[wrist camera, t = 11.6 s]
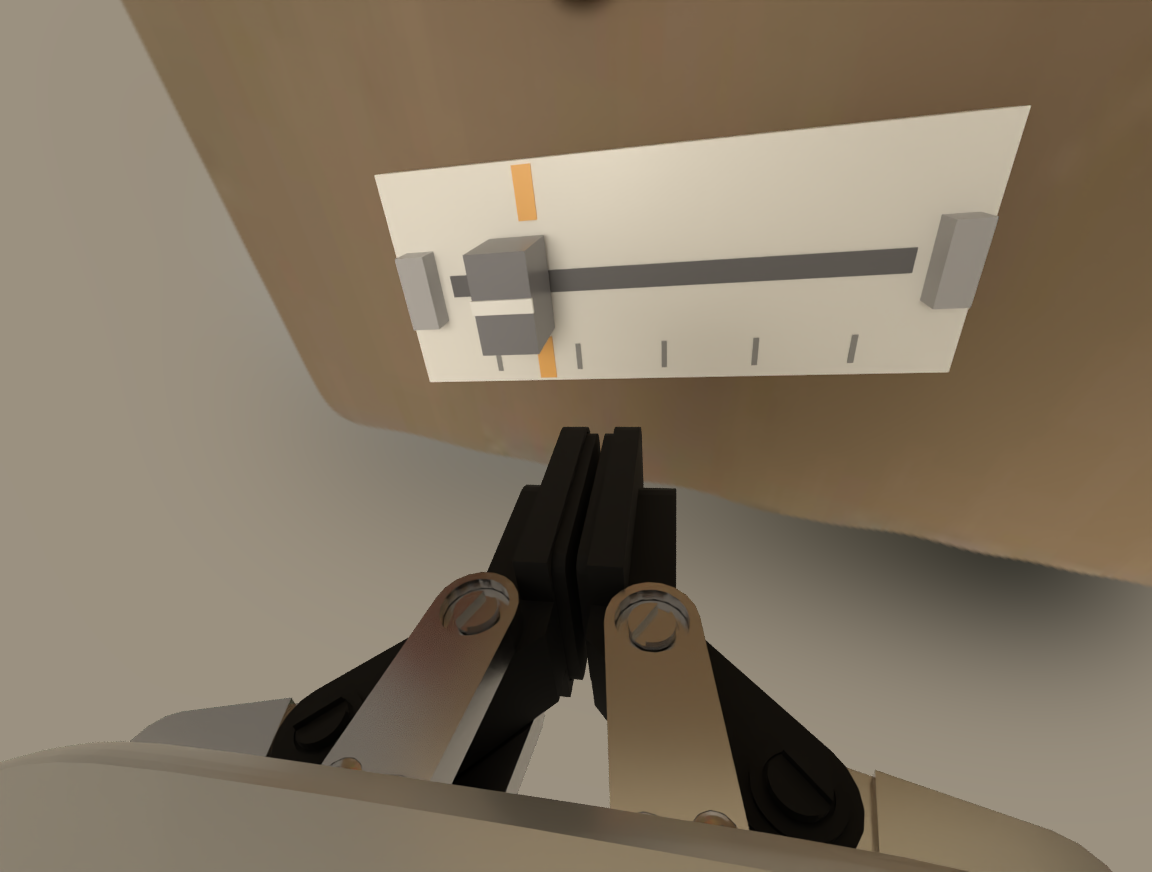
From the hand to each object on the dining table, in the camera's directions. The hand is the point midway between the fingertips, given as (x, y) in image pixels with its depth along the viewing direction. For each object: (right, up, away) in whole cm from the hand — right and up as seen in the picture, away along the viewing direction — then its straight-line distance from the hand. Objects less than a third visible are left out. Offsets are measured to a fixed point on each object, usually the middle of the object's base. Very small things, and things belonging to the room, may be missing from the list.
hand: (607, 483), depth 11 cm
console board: (+4, +11, +17) cm, 21 cm away
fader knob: (-4, +9, +17) cm, 19 cm away
